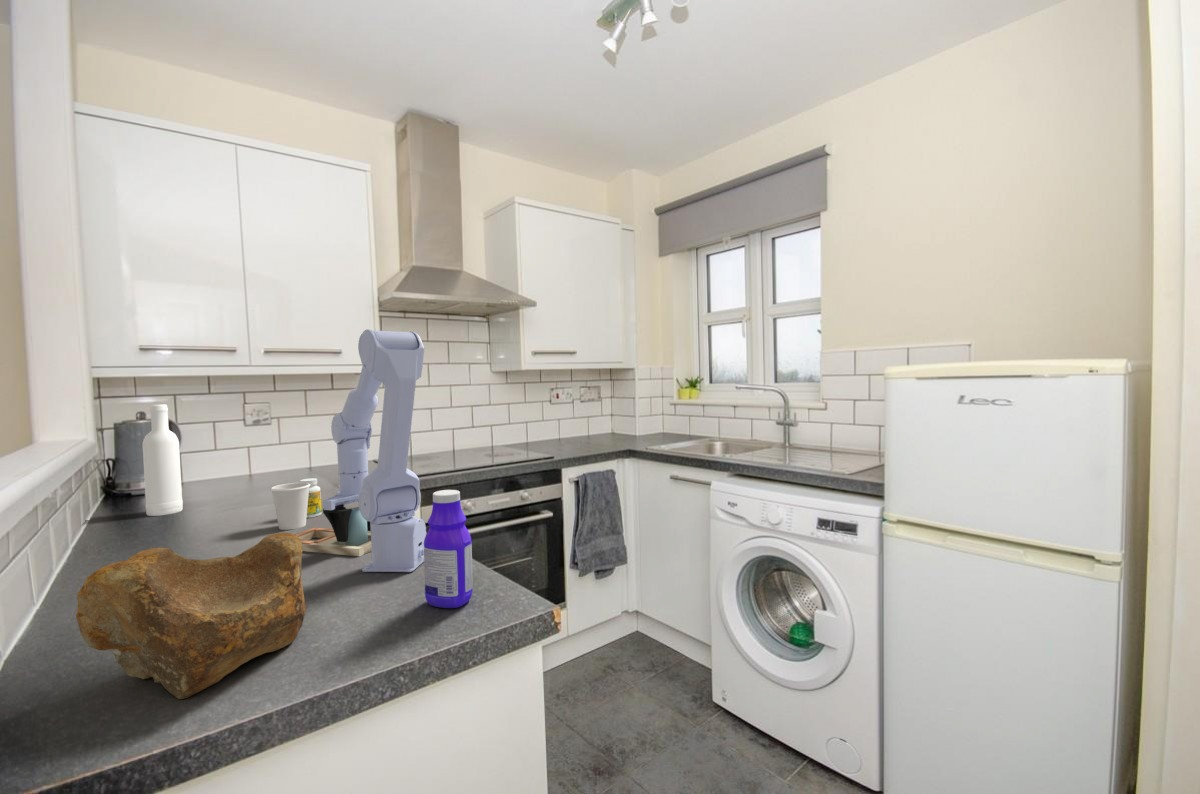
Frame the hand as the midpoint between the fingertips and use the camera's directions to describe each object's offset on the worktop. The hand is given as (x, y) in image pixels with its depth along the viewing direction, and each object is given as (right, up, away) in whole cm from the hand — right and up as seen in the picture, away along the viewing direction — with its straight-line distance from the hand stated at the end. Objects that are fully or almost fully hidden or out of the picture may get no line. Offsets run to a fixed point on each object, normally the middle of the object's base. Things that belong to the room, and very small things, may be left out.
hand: (356, 535), depth 111 cm
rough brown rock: (+4, -4, -46) cm, 47 cm away
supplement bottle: (-25, -2, +28) cm, 37 cm away
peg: (0, -2, 0) cm, 2 cm away
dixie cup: (-24, -3, +17) cm, 29 cm away
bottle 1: (-69, -3, +35) cm, 78 cm away
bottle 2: (+28, -3, -29) cm, 40 cm away
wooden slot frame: (-5, -3, +2) cm, 6 cm away
